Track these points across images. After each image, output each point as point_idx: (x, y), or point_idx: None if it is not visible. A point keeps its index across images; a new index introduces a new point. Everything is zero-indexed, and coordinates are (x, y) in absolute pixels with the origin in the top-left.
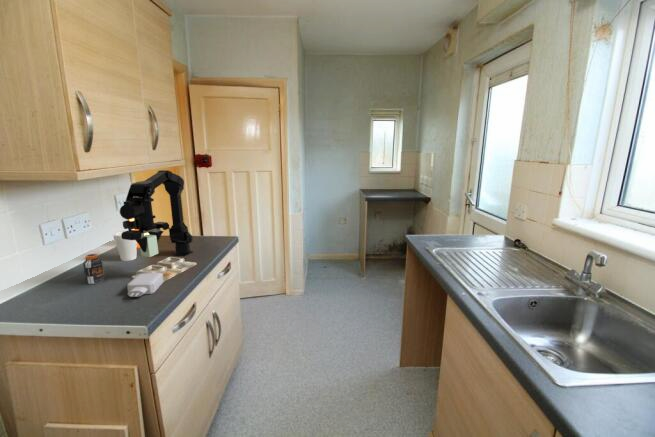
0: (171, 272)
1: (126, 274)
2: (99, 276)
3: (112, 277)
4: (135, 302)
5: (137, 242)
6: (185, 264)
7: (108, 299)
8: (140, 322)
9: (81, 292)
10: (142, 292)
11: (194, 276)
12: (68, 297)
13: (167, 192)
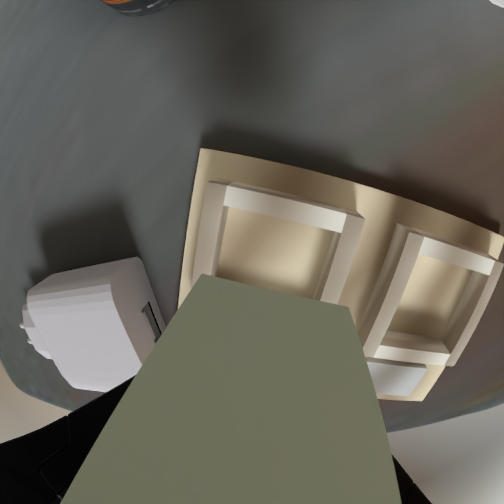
0: None
1: (266, 62)
2: (117, 4)
3: (208, 16)
4: None
5: (18, 439)
6: (397, 381)
7: (17, 220)
8: (12, 375)
9: (45, 49)
10: (46, 356)
11: None
12: (17, 52)
13: None
